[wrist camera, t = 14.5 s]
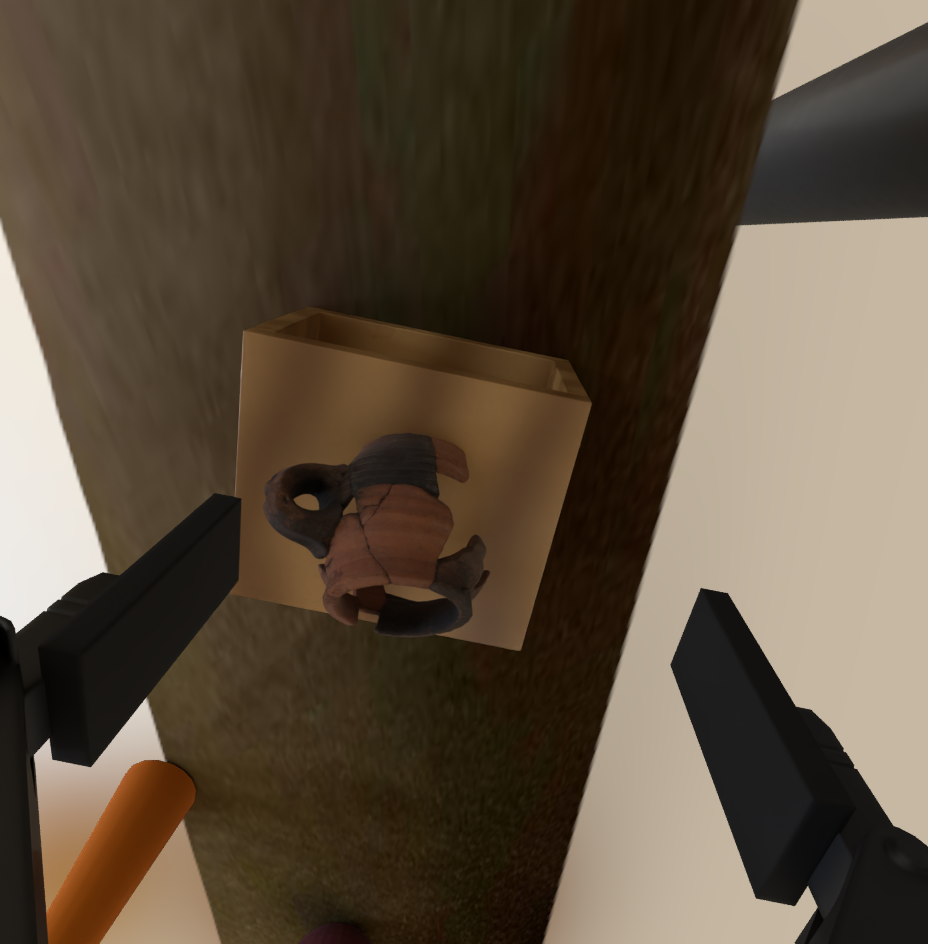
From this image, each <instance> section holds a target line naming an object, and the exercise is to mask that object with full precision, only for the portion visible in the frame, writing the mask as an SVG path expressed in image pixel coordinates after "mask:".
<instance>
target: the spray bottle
mask: <svg viewBox="0 0 928 944" xmlns="http://www.w3.org/2000/svg"><path fill="white" fill-rule="evenodd" d="M195 795H196V789H195V786H194V783H193V780H192V779H191V778H190V777H189V776H188V775H187V774H186V773H185V772H184V771H183V770H182V769H180V768H178V767H177V766H175V765H173V764H171V763H167V762H163V761H159V760H144V761H142V762H139V763H137V764H135V765H133V766H132V767H131V768H130V769H129V770H128V772H127V773H126V774H125V776H124V778H123V779H122V781H121V783H120V785H119V786H118V788H117V790H116V792H115V793H114V795H113V797H112V799H111V801H110V802H109V804H108V806H107V808H106V809H105V811H104V813H103V815H102V816H101V818H100V820H99V822H98V823H97V825H96V827H95V829H94V831H93V832H92V834H91V836H90V837H89V839H88V841H87V843H86V845H85V846H84V848H83V850H82V851H81V853H80V855H79V857H78V858H77V860H76V862H75V864H74V865H73V867H72V869H71V871H70V873H69V875H68V876H67V878H66V880H65V881H64V883H63V885H62V887H61V888H60V890H59V892H58V894H57V895H56V897H55V899H54V901H53V902H52V904H51V906H50V908H49V909H48V911H47V913H46V917H47V930H48V944H99V943H100V942H101V940H102V939H103V937H104V936H105V934H106V933H107V931H108V930H109V928H110V927H111V925H112V924H113V922H114V921H115V919H116V918H117V916H118V915H119V913H120V912H121V910H122V909H123V907H124V906H125V904H126V903H127V901H128V900H129V898H130V897H131V895H132V894H133V893H134V891H135V890H136V888H137V887H138V885H139V884H140V882H141V880H142V879H143V878H144V876H145V875H146V873H147V871H148V870H149V868H150V867H151V865H152V864H153V863H154V861H155V860H156V858H157V856H158V855H159V854H160V852H161V851H162V849H163V848H164V846H165V845H166V843H167V842H168V840H169V839H170V837H171V836H172V834H173V833H174V831H175V830H176V828H177V827H178V825H179V824H180V822H181V821H182V819H183V818H184V816H185V815H186V813H187V812H188V810H189V809H190V807H191V806H192V804H193V803H194V801H195Z"/></svg>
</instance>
